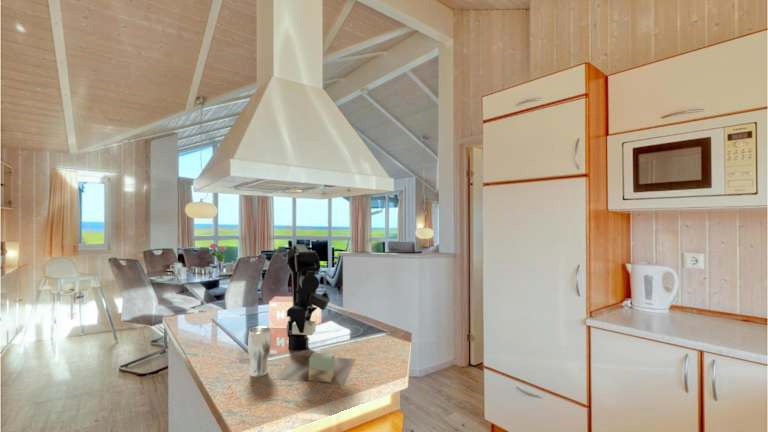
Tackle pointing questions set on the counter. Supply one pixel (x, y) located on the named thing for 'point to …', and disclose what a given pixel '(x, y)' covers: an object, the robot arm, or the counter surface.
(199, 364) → the counter surface
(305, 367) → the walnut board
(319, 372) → the maple base block
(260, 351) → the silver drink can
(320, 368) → the sage green block
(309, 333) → the cream block
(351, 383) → the counter surface
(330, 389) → the counter surface
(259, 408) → the counter surface
